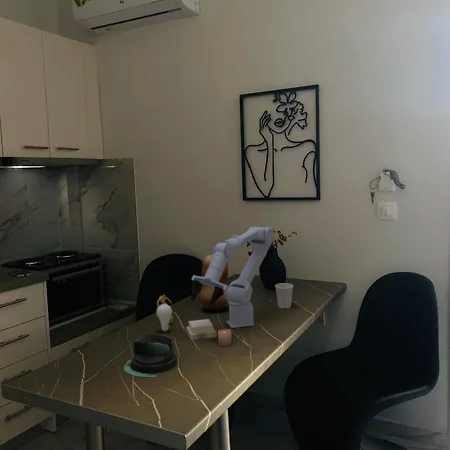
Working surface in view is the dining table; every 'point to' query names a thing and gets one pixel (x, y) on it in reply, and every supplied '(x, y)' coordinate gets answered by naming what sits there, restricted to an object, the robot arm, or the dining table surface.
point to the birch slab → (201, 334)
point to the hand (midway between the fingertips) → (200, 303)
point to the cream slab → (200, 326)
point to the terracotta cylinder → (224, 337)
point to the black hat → (152, 356)
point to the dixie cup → (284, 294)
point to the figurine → (162, 299)
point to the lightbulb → (164, 315)
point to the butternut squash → (208, 290)
